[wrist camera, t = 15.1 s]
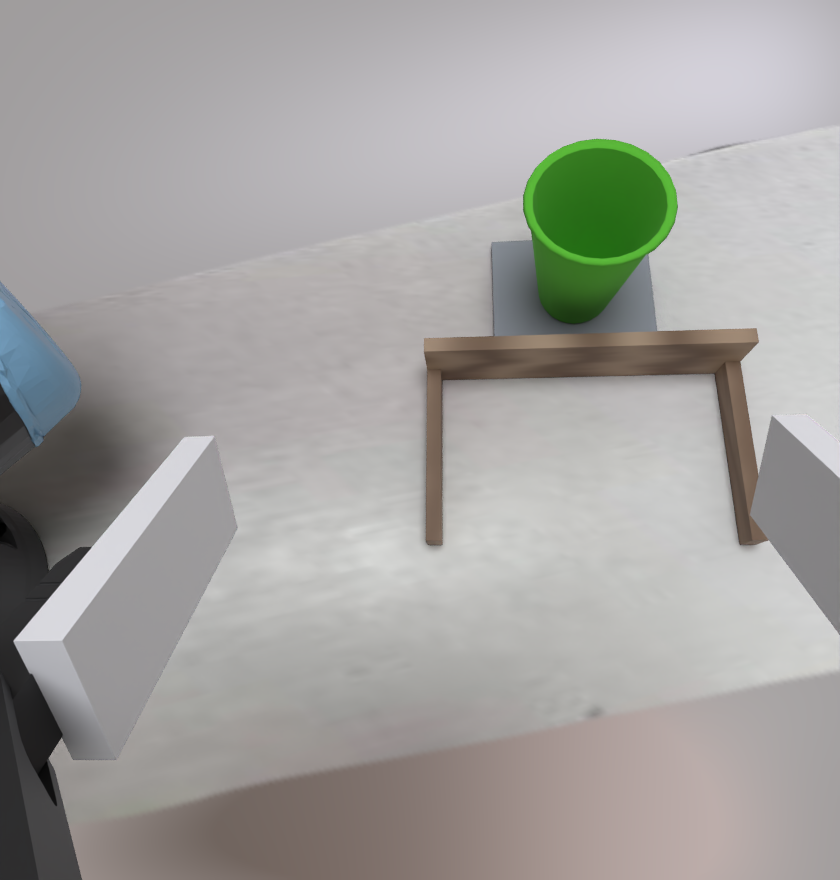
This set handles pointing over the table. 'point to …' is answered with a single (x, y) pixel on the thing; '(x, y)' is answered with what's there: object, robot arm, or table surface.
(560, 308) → the cup
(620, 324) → the mat
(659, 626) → the table surface
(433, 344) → the stall
